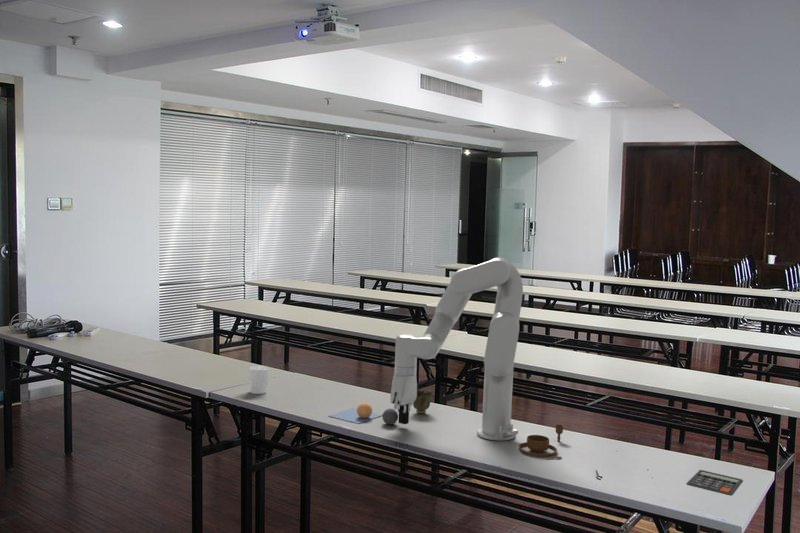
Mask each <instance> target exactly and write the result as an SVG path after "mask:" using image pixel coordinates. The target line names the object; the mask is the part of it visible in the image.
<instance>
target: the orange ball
mask: <svg viewBox="0 0 800 533" xmlns="http://www.w3.org/2000/svg"><path fill="white" fill-rule="evenodd" d="M356 409H357V414H358V415H359V416H360V417H361V418H368V417H369V416H370V415H371V414H372V413H373V407H372V405H371V404H370V403H368V402H362V403H359V405H358V406H357V407H356Z"/></svg>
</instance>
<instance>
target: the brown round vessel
mask: <svg viewBox="0 0 800 533" xmlns="http://www.w3.org/2000/svg"><path fill="white" fill-rule="evenodd" d="M432 395H433V393H432V391H429V390H427V392H425V390H424V389H422V390H420V389H417V397H416V400H415V401H414V404H412V406H413V408H414V409H415V410H416V411H415V412H416V414H418V415H425V414H426V413H427V410H429V407H430V405H431V401H432Z"/></svg>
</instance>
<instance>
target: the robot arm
mask: <svg viewBox="0 0 800 533" xmlns="http://www.w3.org/2000/svg"><path fill="white" fill-rule="evenodd" d="M452 274H453V275H452V276H451V279H450V282H449V284H448V285H447V287H446V288H445V291H444V292H443V294H442V296H441V298H440V299H439V301H438V302H437V305H436V307H435V311H434V314H433V317H432V319H431V321H430V323H429V325H428V327H427V328H426V331H425V332H424V333H423V335H422V336H421V337H417V336H416V335H414V334H407V333H405V334H404V333H403V334H399V335H396V337H395V349H394V352H395V353H394V354H395V355H394V374H393V377H392V382H391V388H390V403H391V404H393V409H394V410H397V413H398V420H397V422H398V424H402V425H407V424H409V422H410V411H411V408H412V406H413V404H414V401H415V400H416V397H417V391H418V382H417V380H418V379H417V369H418V368H417V367H418V366H417V364H418V363H417V362H418V360H417V359H422V360H431V359H434V358H435V357H436V356H437V355H438V353H439V352H440V350H441V348H442V346H443V345H444V344H445V341H446V339H447V338H448V336H449V334H450V332H451V330H452V328H453V327H454V325H455V324H456V323H457V322H458V320H459V319H460V317H461V315H462V313H463V311H464V310H465V307H467V304H468V302H469V301H470V298H471V297H472V295H473V294H475V293H476V294H477V293H479V292H483V291H485V290H488V289H492V288H495V287H496V288H497V291H496V297H495V305H494V310H493V314H492V315H493V316H492V317H491V321H490V324H489V328H488V335H487V340H486V346H485V352H484V358H483V365H484V379H483V380H484V381H483V396H482V397H483V400H482V416H481V417H482V418H481V419H482V420H481V427H480V428H477V431H476V434H477V436H478V437H480V438H481V439H482V438H483V439H484V440H485V439H486V440H490V441H499V442H500V441H501V442H502V441H510V440H513V439H514V438H516V436H517V435H518V434H519V431H518V430H517V429H514V423H513V424H512V402H513V401H512V400H513V388H514V387H513V383H514V382H513V381H514V367H515V366H514V363H515V357H516V352H517V346H518V345H517V344H518V341H519V335H520V334H519V333H520V316H521V309H522V302H523V296H524V295H523V294H524V293H523V292H524V286H523V285H524V284H523V280H522V276H521V274H520V273H519V271H518V269H517V268H516V267H515V265H513V264H512V263H511V262H510V261H508V260H507V259H505V258H503V257H494V258H492V259H490V260H488V261H485V262H482V263H479V264H477V265H473V266H470V267H467V268H463V267H462V268H460V269H458V270H457V271H455V272H454V273H452Z"/></svg>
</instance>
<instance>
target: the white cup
mask: <svg viewBox="0 0 800 533" xmlns="http://www.w3.org/2000/svg"><path fill="white" fill-rule="evenodd" d="M248 370H249V371H248V372H249V376H248V377H249V378H248V379H249V380H248V381H249V392H250V394H255V395H262V394H266V393H268V385H269V374H270V373H269V372H270V367H268V366H266V365H254V366H250V367H249V368H248Z"/></svg>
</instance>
